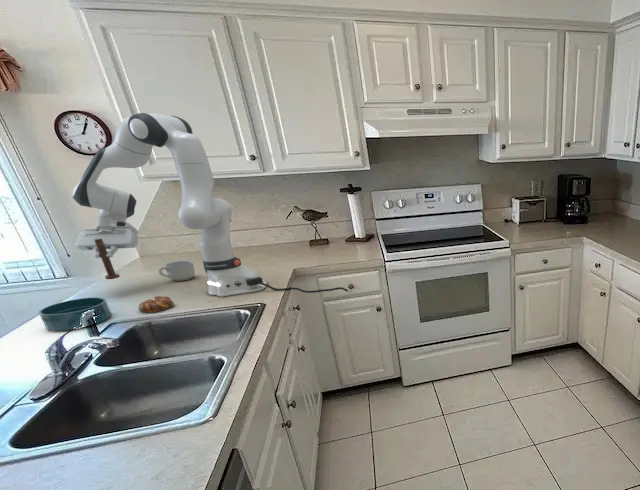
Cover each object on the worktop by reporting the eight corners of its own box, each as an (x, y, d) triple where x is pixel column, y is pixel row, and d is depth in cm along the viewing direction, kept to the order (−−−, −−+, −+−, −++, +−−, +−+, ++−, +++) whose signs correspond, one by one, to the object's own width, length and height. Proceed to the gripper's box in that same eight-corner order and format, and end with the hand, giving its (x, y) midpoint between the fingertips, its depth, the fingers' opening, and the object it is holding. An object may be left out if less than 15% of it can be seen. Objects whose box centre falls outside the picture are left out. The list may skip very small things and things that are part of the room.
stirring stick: (121, 275, 173) (107, 237, 167) (116, 278, 169) (101, 239, 163) (108, 276, 172) (93, 238, 165) (103, 279, 168) (88, 240, 162)
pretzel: (141, 306, 163) (138, 297, 162) (175, 300, 169) (172, 292, 168) (138, 316, 154) (135, 306, 153) (174, 309, 160) (171, 300, 159)
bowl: (120, 310, 159) (114, 295, 157) (98, 328, 144) (91, 311, 142) (64, 316, 154) (57, 300, 151) (34, 335, 139) (26, 317, 136)
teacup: (193, 274, 203) (188, 258, 200) (200, 278, 197) (195, 262, 194) (158, 281, 193) (153, 264, 190) (165, 285, 187) (159, 269, 184)
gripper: (75, 225, 167) (67, 254, 162) (133, 222, 171) (126, 251, 165) (87, 234, 172) (80, 262, 167) (142, 231, 176) (137, 259, 171)
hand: (103, 257), depth 166 cm, fingers closed on stirring stick, 2 cm apart
